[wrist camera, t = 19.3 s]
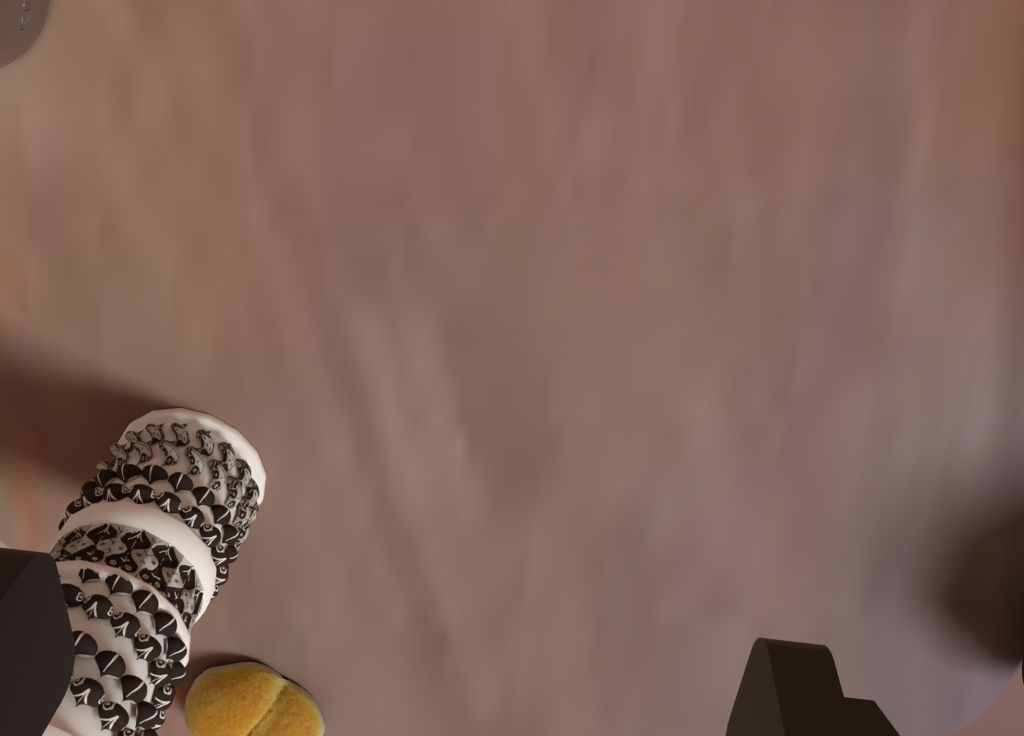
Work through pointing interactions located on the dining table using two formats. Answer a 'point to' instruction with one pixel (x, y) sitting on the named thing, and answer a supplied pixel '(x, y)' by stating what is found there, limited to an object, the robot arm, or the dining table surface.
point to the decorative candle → (149, 564)
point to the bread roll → (250, 704)
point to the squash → (1023, 669)
